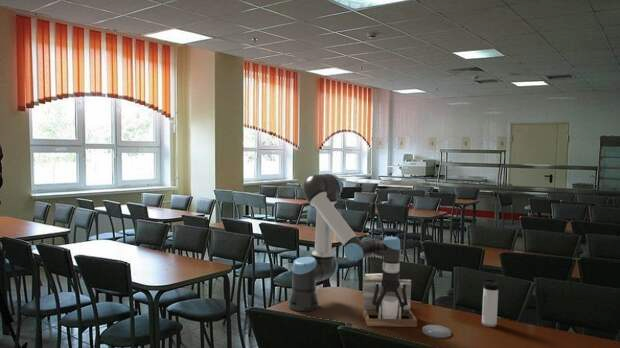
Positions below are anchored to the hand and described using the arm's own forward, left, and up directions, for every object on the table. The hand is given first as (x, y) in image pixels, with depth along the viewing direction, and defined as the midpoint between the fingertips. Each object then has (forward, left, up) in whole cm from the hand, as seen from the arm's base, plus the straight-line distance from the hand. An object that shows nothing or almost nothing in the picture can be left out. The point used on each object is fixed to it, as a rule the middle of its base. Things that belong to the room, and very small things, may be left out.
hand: (389, 319), depth 213 cm
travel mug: (+3, +45, 0) cm, 45 cm away
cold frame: (0, 0, 0) cm, 0 cm away
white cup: (0, 0, 0) cm, 0 cm away
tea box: (-22, 0, -1) cm, 22 cm away
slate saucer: (+13, +18, 0) cm, 22 cm away
